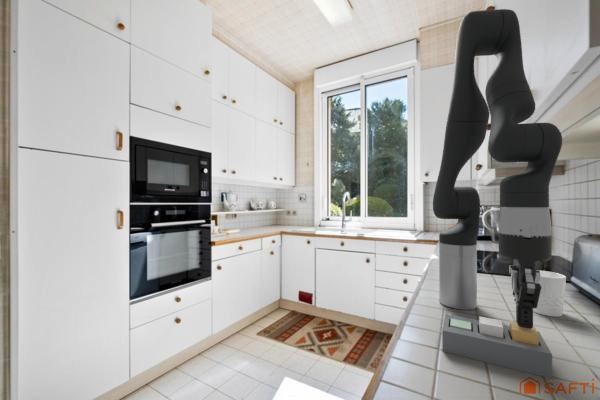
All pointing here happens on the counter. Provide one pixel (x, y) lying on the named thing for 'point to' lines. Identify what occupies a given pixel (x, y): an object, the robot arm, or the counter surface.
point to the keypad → (497, 348)
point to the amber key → (524, 334)
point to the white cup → (551, 294)
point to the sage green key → (460, 324)
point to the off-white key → (491, 327)
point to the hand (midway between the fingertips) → (524, 326)
